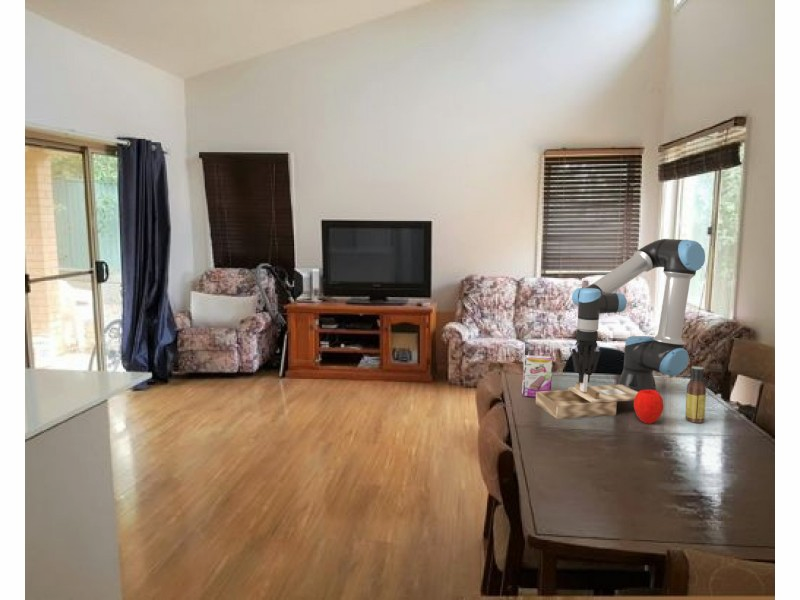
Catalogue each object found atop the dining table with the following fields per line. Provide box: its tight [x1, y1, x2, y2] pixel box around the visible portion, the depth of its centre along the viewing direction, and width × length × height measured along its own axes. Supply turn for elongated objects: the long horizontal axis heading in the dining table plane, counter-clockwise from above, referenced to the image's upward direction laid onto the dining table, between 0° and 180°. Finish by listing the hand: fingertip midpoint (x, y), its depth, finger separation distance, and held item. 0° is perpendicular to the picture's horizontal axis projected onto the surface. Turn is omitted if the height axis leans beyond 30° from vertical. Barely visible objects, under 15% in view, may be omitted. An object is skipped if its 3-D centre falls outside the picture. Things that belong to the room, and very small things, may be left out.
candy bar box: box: [521, 354, 554, 398], centre depth 233 cm, size 11×5×16 cm, turn 84°
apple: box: [633, 389, 664, 425], centre depth 206 cm, size 10×10×12 cm
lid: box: [567, 381, 638, 403], centre depth 221 cm, size 24×17×3 cm
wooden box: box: [535, 389, 618, 420], centre depth 218 cm, size 24×17×5 cm
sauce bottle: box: [684, 365, 707, 424], centre depth 207 cm, size 6×6×20 cm
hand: (583, 390), depth 218 cm, fingers closed
